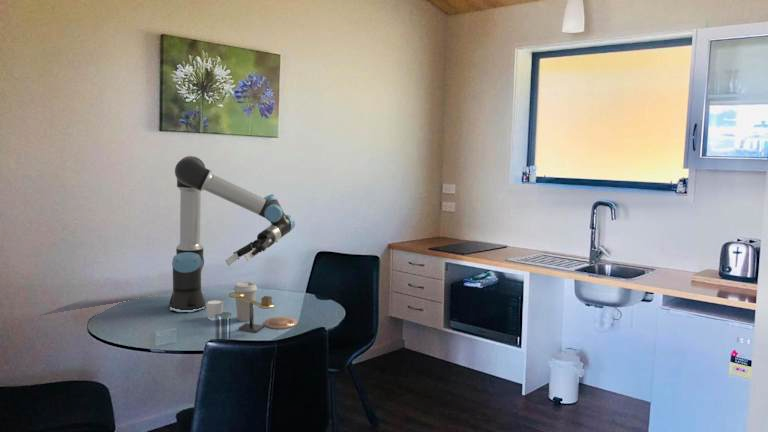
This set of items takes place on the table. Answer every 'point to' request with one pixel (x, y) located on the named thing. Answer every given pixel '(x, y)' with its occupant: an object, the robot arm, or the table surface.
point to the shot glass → (214, 308)
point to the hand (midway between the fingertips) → (236, 260)
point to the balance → (265, 304)
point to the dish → (280, 323)
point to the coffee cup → (249, 293)
